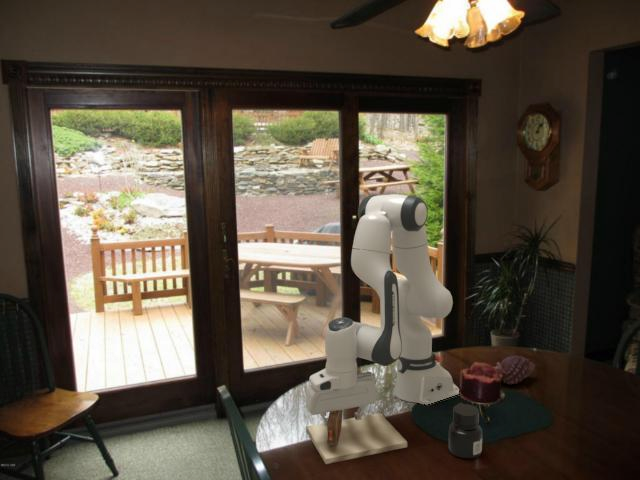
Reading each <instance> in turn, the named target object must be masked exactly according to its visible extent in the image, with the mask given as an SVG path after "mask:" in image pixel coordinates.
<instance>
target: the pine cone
mask: <svg viewBox="0 0 640 480" xmlns="http://www.w3.org/2000/svg"><path fill="white" fill-rule="evenodd" d="M492 367H493V368H494V369H495V370H496V371H497V372H498V374H499V376H500V378H501V380H500V382H503V383H504V384H508V385H512V384H513V385H514V384H517V385H518V383H521V382H522V381H523V380H524V379H527V377H530V376H531V374H532V373H533V371H534V370H535V368H536V364H535V363H533V362H532V361H530V359H529V358H526V357H525V356H521V355H508V356H507V357H504V358H503V359H502V361H501V362H499V361H497V362H496V365H495V366H494V365H493V366H492ZM492 367H491V368H492ZM500 378H499V379H500Z"/></svg>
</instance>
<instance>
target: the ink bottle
mask: <svg viewBox="0 0 640 480" xmlns="http://www.w3.org/2000/svg"><path fill="white" fill-rule="evenodd" d="M479 421H480V410H479V408H478V407H476V406H474V405H472V404H466V403H459V404H456V405H454V406H453V408H452V422H451V423H450V424H449V426H448V445H447V446H448V451H449V452H450V453H451V454H453V455H454V456H456V457H458V458H460V459H461V458H462V459H476V458H478V457H480V456H481V454H482V453H483V452H482V451H483V429H482V427H481V426H480V425H479V423H480V422H479Z"/></svg>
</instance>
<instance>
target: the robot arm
mask: <svg viewBox="0 0 640 480" xmlns="http://www.w3.org/2000/svg"><path fill="white" fill-rule="evenodd" d="M428 212H429V211H428V206H427V204H426V202H425V201H424V200H423V198H421V197H419V196H418V195H417V196H416V195H412V194H411V195H406V194H405V195H404V194H397V193H395V194H394V193H392V194H391V193H390V194H373V195H372V194H371V195H368V196H364V197H363V199H362V200H361V201H360V203H359V205H358V210H357V216H358V220H359V221H358V222H357V226H356V229H355V233H354V236H353V244H352V249H351V257H350V266H351V269H352V272H353V273H354V274H355V275H356V276H357V278H359V279H360V280H361V281H362V282H364V283H365V284H366V285H368V286H369V287H371V288H372V289H373V290H374V291H375V292H376V293H377V295H378V298H379V307H380V310H379V311H380V312H379V313H380V327H377V326H374V325H369V324H367V323H362V322H358V321H354V320H353V319H351V318H350V317H338V318H334V319H332V320H331V321H329V322H328V324H327V327H326V330H325V338H324V339H325V340H324V343H325V344H324V345H325V347H324V350H325V356H326V362H325V368H323V369H321V370H319V371H317V372H315V373H313V374H311V375H310V376H309V383H310V385H309V387H308V388H307V391H306V392H307V393H306V409H307V411H308V413H310V415H312V416H315V415H320V416H321V418H322V420H323V423H324V426H325V427H326V426H327V425H328V417H326V416H327V413H330V412H332V411H338V410H342V411H343V410H347V409H353V408H357V407H358V408H357V410H356V411H355V412H354V413H353V414H354V417H353V418H355V419H356V420H361V416H362V415H363V413H364V411H365V409H366V406H369V405H374V404H375V403H376V402H377V399H378V398H377V396H378V395H377V389H376V383H377V376H376V374H375V373H374V372H371V371H366V372H359V373H358V363H357V358H361V359H364V360H367V361H370V362H372V363H375V364H377V365H380V366H383V367H387V366H390V365H393V364H394V363H395V362H396V368H397V369H396V370H397V372H396V379H395V384H394V388H393V392H392V393H393V394H394V396H395V397H396V398H398V399H399V400H402V401H405V402H409V403H419V404H421V405H424V404H425V405H426V406H429V405H428V404H430V405H432V404H431V403H433V404H435V403H434V402H437V401H440V400H443V399H446V398H449V397H452V396H455V395H458V394H459V390H460V389H459V387H458V386H457V385H456V384H455V383H454V381H453V377H452V375H451V373H450V372H449V371H448V370H446V369H445V368H444V367H443V366H441V365H440V364H438V363H441V362H442V361H443V357H442V356H440V355H438V354H436V353H434V352H433V351H432V347H433V346H432V345H433V334H432V331H431V329H430V327H429V326H427V325H426V324H425V323H424V322H423V320H422V318H426V319H444V318H446V317H447V316H448V315H449V314H450V313H451V311H452V308H453V304H454V301H453V296H452V294H451V291H449V289H447V288H446V287H445V286H444V285H443V283H441V282H440V280H439V279H438V277H437V275H436V274H435V272H434V269H433V267H432V265H431V260H430V254H429V246H428V245H429V244H428V233H427V229H426V222H427V220H428V214H429V213H428ZM391 246H392V247H391ZM391 248H393V257H394V258H393V259H394V265H395V268H396V270H397V271H398V272H399V273H400V274H401V275H402V276H404V278H405V279H403V278H398V277H397V274H396V273H394V272H393V269H392V266H391V260H390V258H391V257H390V256H391V255H390V254H391ZM421 317H422V318H421ZM458 396H459V395H458ZM455 397H456V396H455ZM452 398H453V397H452ZM449 399H450V398H449ZM446 400H447V399H446ZM443 401H444V400H443ZM440 402H441V401H440ZM437 403H438V402H437ZM425 405H424V406H425Z"/></svg>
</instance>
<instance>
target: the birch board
mask: <svg viewBox="0 0 640 480" xmlns="http://www.w3.org/2000/svg"><path fill="white" fill-rule="evenodd" d="M305 430H306V433H307V435H308V436H309V437H308V438H309V439H310V440H311V442H312V443H313V445H314V447H315V449H316V450H317V452H318V453H319V455H320V457H321V458H322V460H323V462H324V464H325V465H330V464H333V463H340V462H343V461H347V460H353V459H357V458H362V457H365V456H366V457H367V456H372V455H375V454H381V453H385V452H390V451H391V452H392V451H395V450H396V451H397V450H399V449H405V448H408V441H407V440H406V439H405V438H404V437H403V436H402V435H401V434H400V432H398V430H396V428H395V427H394V426H393V425H392V424H391V422H389V421H388V420H387V419H386V418H385V417H384V415H383V414H382V413H380V412H378V413H373V414H371V413H370V414H366V415H361V420H356V419H355V418H354V417H351V418H345V419H344V418H343V419H342V425H341V432H340V436H339V440H338V444H337V446H336V445H329V444H328V443H327V440H328V431H327V426H326V427H325V426H324V423H318V424H312V425H307V426H306V427H305Z"/></svg>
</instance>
